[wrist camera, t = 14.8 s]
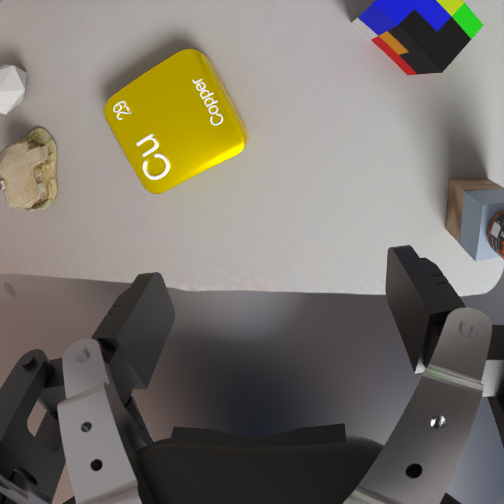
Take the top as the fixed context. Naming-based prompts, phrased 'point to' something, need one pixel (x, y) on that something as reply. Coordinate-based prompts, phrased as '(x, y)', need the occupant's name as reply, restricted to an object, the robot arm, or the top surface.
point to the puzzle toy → (419, 31)
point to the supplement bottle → (497, 233)
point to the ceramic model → (29, 171)
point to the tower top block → (479, 221)
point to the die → (11, 87)
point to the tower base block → (457, 201)
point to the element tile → (176, 121)
